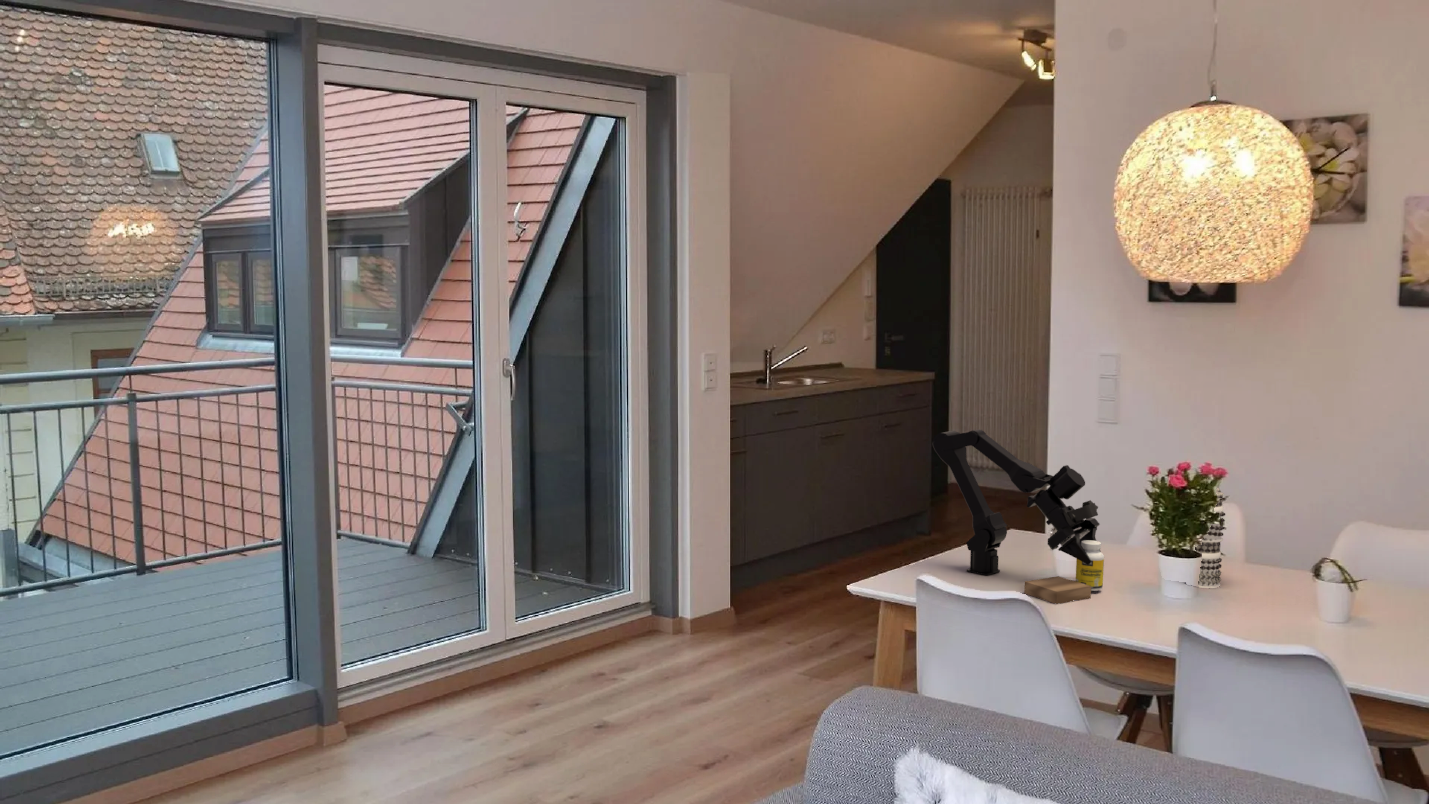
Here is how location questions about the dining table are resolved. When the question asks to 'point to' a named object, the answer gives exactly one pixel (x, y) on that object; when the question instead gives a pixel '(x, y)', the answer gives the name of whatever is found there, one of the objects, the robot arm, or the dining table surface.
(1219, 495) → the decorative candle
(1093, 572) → the pill bottle
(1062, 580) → the walnut plinth
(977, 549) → the robot arm
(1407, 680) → the dining table surface
